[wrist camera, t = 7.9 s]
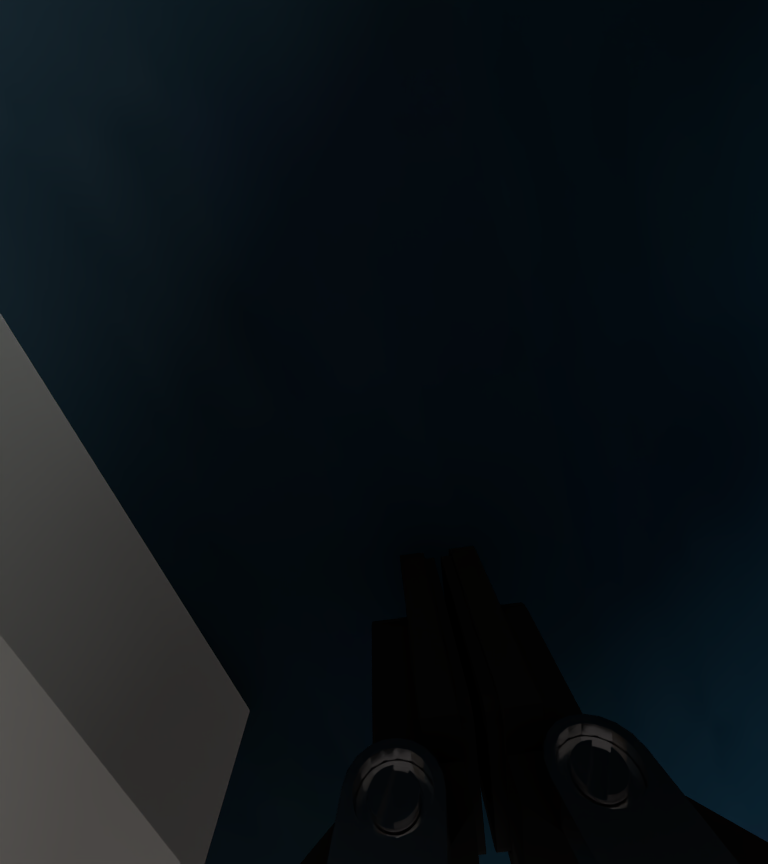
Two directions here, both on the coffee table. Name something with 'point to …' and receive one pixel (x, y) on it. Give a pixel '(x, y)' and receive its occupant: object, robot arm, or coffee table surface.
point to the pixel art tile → (95, 663)
